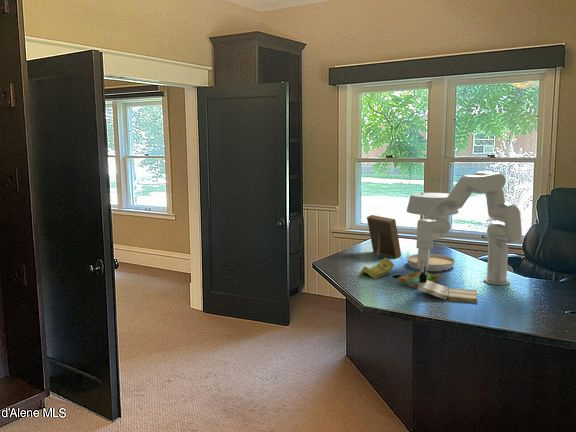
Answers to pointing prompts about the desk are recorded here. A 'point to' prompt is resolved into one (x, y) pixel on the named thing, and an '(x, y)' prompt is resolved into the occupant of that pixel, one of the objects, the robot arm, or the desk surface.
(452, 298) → the oak floorboard
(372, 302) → the desk surface
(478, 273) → the desk surface
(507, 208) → the robot arm
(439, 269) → the lamp
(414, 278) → the puzzle game
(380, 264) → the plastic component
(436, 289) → the birch plank
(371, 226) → the photo frame
